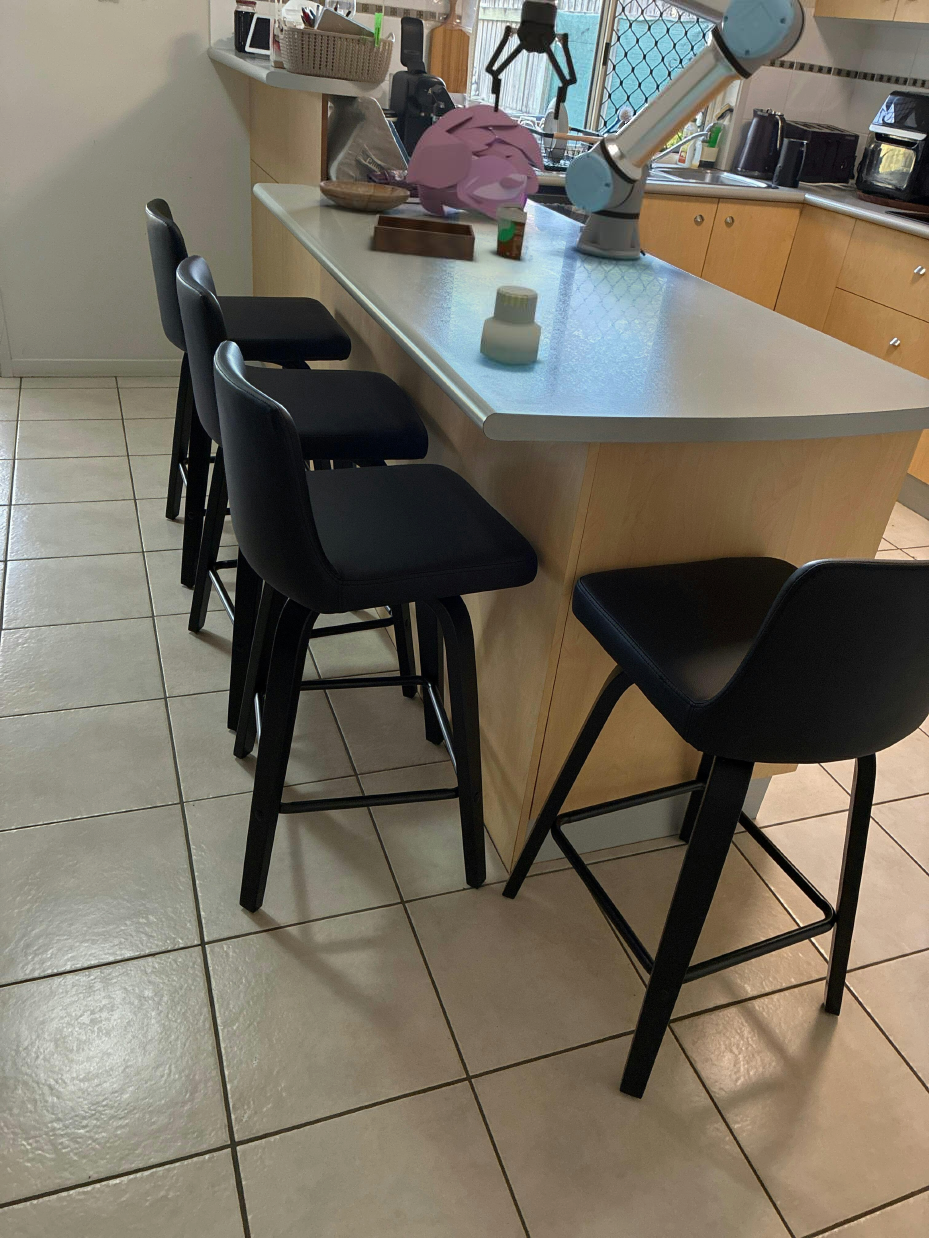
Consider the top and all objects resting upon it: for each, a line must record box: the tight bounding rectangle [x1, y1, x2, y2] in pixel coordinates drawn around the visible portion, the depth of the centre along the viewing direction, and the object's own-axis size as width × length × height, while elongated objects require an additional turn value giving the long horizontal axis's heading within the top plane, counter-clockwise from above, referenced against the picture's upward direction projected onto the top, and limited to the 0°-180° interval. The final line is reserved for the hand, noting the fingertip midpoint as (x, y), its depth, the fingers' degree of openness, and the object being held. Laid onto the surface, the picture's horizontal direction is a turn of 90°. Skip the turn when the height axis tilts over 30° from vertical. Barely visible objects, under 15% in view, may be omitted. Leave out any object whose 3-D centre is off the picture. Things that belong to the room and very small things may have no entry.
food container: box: [495, 203, 528, 261], centre depth 202 cm, size 12×6×10 cm, turn 2°
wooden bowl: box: [318, 179, 410, 212], centre depth 237 cm, size 23×24×5 cm
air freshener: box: [479, 285, 542, 366], centre depth 132 cm, size 11×8×10 cm
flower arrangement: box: [405, 103, 546, 222], centre depth 238 cm, size 35×24×28 cm
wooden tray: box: [372, 213, 476, 262], centre depth 198 cm, size 21×15×5 cm
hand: (525, 116), depth 204 cm, fingers open, 13 cm apart
